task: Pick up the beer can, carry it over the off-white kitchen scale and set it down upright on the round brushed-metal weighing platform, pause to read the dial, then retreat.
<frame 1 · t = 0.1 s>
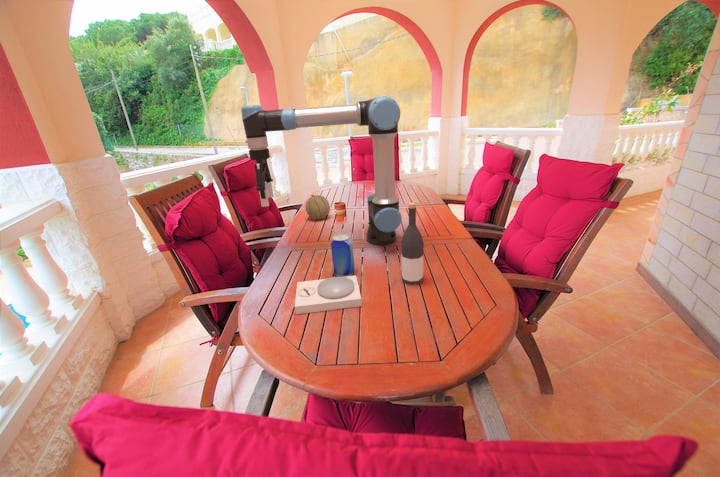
hand: (268, 201, 131), 28 cm above the table, fingers open, 13 cm apart
cantaloupe: (319, 218, 194), on the table
wine bottle: (412, 280, 120), on the table
beer can: (344, 273, 128), on the table
scale: (328, 297, 112), on the table
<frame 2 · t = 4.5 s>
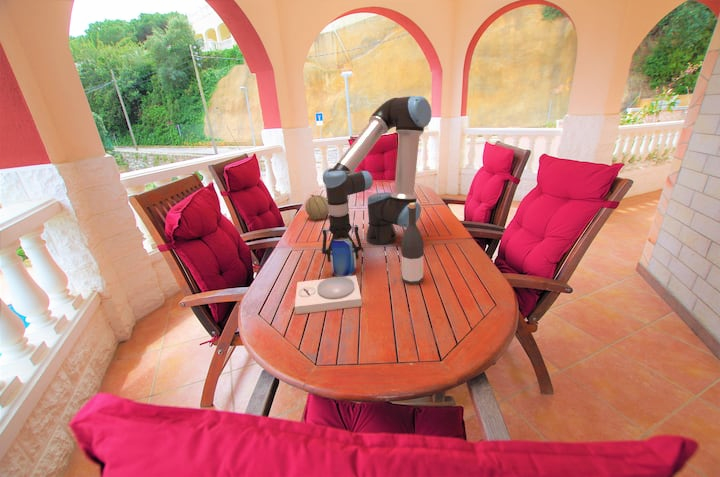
hand: (343, 267, 127), 3 cm above the table, fingers closed on beer can, 8 cm apart
beer can: (344, 273, 128), on the table, touching gripper
everything else where it was.
when the fingers open (8 cm above the table, at t = 9.9 s): beer can stays where it is, resting on scale.
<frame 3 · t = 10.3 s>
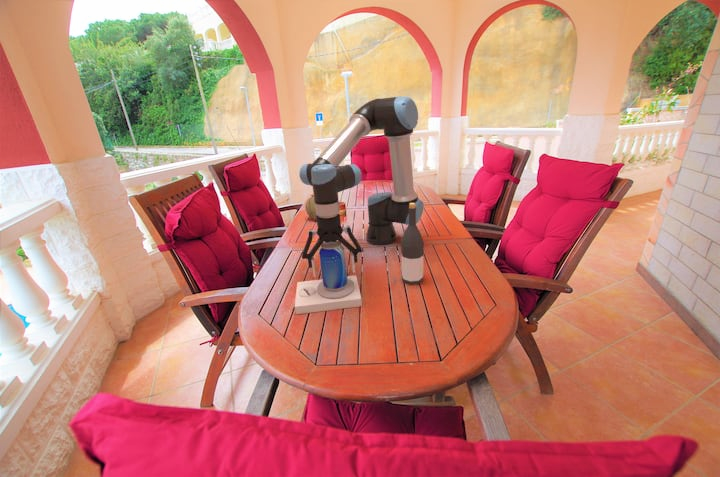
hand: (334, 273, 109), 9 cm above the table, fingers open, 13 cm apart
beer can: (335, 286, 111), point 4 cm above the table, touching scale
everything else where it was.
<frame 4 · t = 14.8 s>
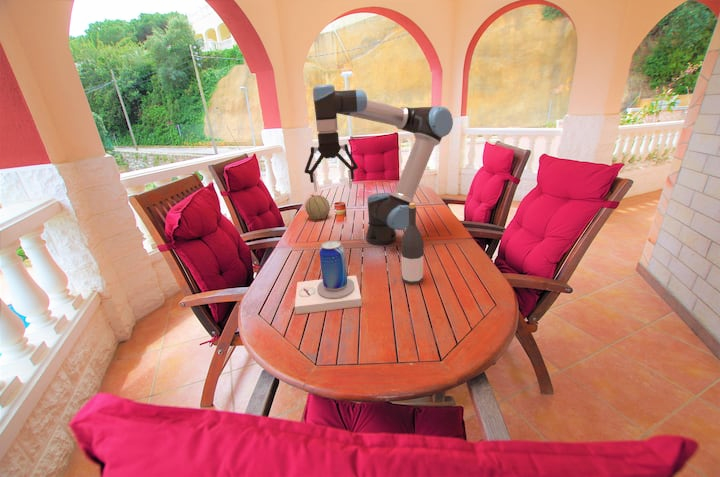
hand: (333, 189, 123), 33 cm above the table, fingers open, 13 cm apart
nothing on the table moved.
at the end: beer can inside the target area on the scale (0.0 cm from its centre), point 4.0 cm above the scale's base; beer can tilted 0°; the gripper is holding nothing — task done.
